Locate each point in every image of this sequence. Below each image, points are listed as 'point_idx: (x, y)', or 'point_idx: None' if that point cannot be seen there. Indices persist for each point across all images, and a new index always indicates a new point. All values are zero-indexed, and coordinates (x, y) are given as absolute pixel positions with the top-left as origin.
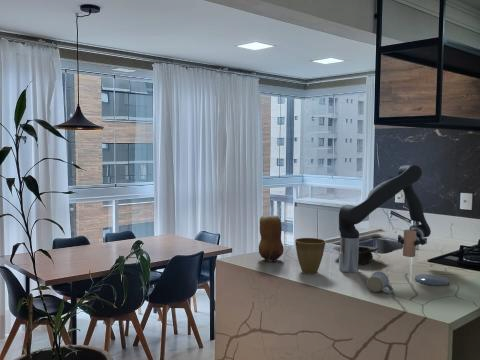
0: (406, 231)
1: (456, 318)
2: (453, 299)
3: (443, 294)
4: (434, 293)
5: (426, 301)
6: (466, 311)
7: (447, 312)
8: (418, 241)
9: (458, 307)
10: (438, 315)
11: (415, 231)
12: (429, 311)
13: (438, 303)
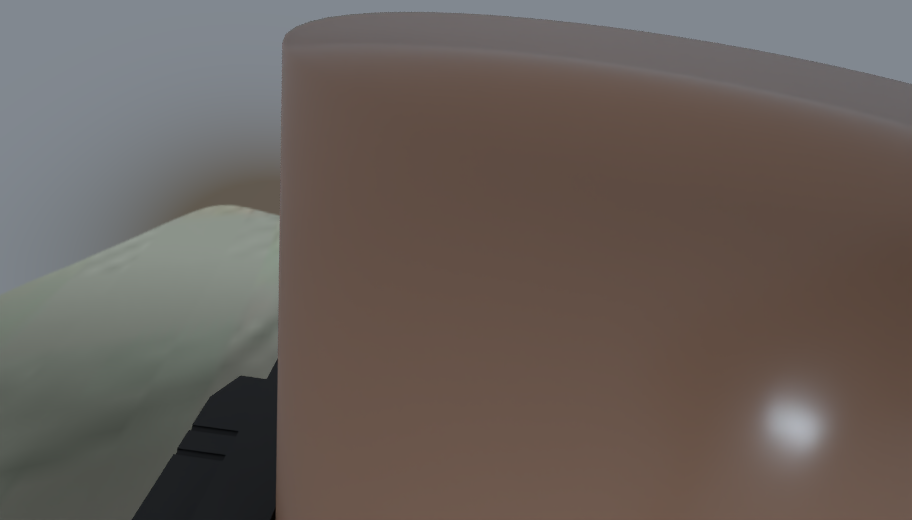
0: (736, 48)
1: (161, 225)
2: (16, 412)
3: (47, 495)
4: (137, 496)
5: (263, 343)
6: (51, 279)
7: (180, 258)
8: (172, 479)
9: (70, 310)
10: (242, 234)
11: (345, 29)
12: (277, 255)
13: (187, 333)
